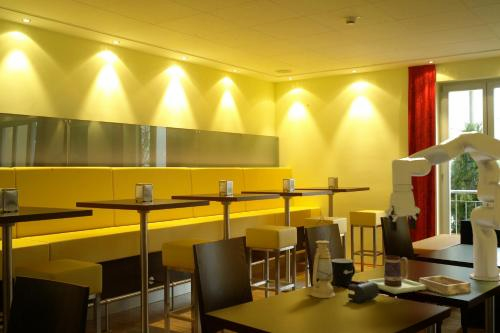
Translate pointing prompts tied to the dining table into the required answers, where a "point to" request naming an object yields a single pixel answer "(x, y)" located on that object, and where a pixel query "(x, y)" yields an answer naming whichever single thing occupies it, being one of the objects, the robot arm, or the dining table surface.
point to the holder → (445, 285)
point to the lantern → (322, 270)
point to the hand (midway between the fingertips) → (403, 230)
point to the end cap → (363, 292)
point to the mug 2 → (394, 271)
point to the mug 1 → (342, 271)
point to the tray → (405, 287)
